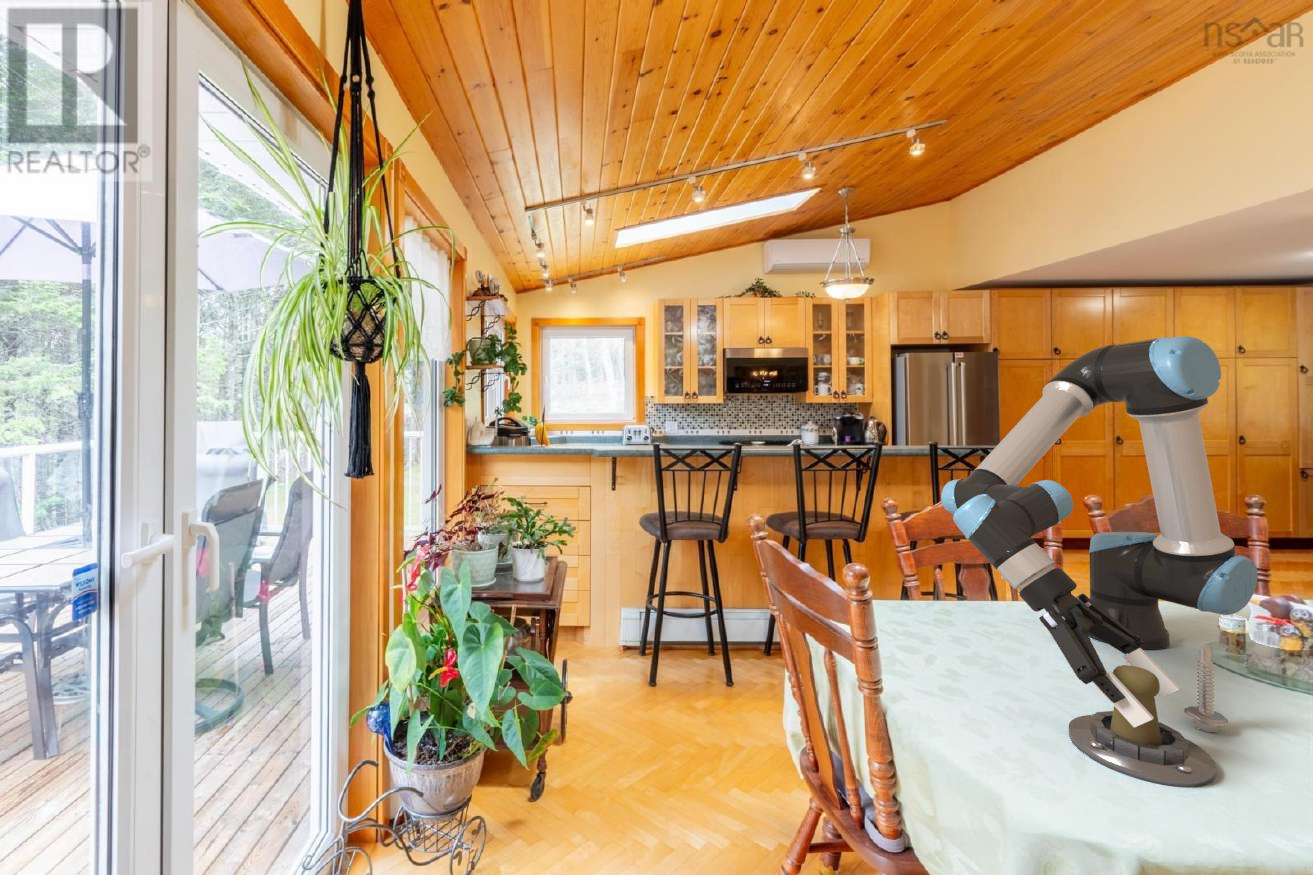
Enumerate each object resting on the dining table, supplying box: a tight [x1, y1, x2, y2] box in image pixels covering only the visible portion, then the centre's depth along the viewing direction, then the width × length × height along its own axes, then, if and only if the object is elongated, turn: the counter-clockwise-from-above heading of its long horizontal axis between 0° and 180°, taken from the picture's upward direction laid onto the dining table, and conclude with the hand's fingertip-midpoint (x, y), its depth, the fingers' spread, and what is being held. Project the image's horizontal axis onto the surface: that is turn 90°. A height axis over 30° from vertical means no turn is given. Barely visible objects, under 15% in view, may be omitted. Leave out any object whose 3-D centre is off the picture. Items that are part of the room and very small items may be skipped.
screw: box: [1183, 645, 1229, 733], centre depth 87 cm, size 13×5×5 cm
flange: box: [1068, 710, 1216, 788], centre depth 81 cm, size 16×16×3 cm
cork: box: [1110, 664, 1162, 746], centre depth 80 cm, size 6×6×11 cm
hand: (1158, 707), depth 79 cm, fingers open, 13 cm apart
